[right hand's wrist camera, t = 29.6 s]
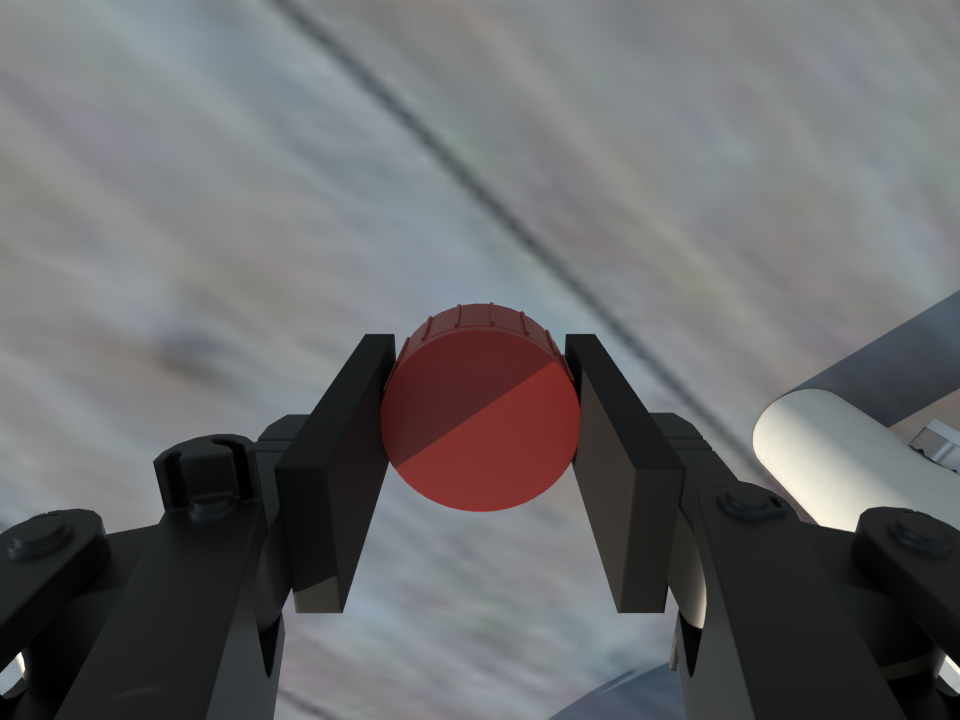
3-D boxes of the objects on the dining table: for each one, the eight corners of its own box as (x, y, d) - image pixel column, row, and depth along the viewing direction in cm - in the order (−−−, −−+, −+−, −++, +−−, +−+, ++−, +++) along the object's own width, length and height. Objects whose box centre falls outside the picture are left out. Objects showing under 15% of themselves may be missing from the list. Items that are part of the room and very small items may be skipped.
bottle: (743, 472, 30) (1133, 934, 12) (763, 387, 28) (1259, 782, 10) (836, 474, 30) (1362, 937, 12) (862, 389, 28) (1530, 786, 10)
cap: (568, 457, 15) (583, 508, 13) (402, 465, 15) (388, 518, 13) (568, 296, 13) (586, 322, 11) (383, 306, 13) (363, 334, 11)
